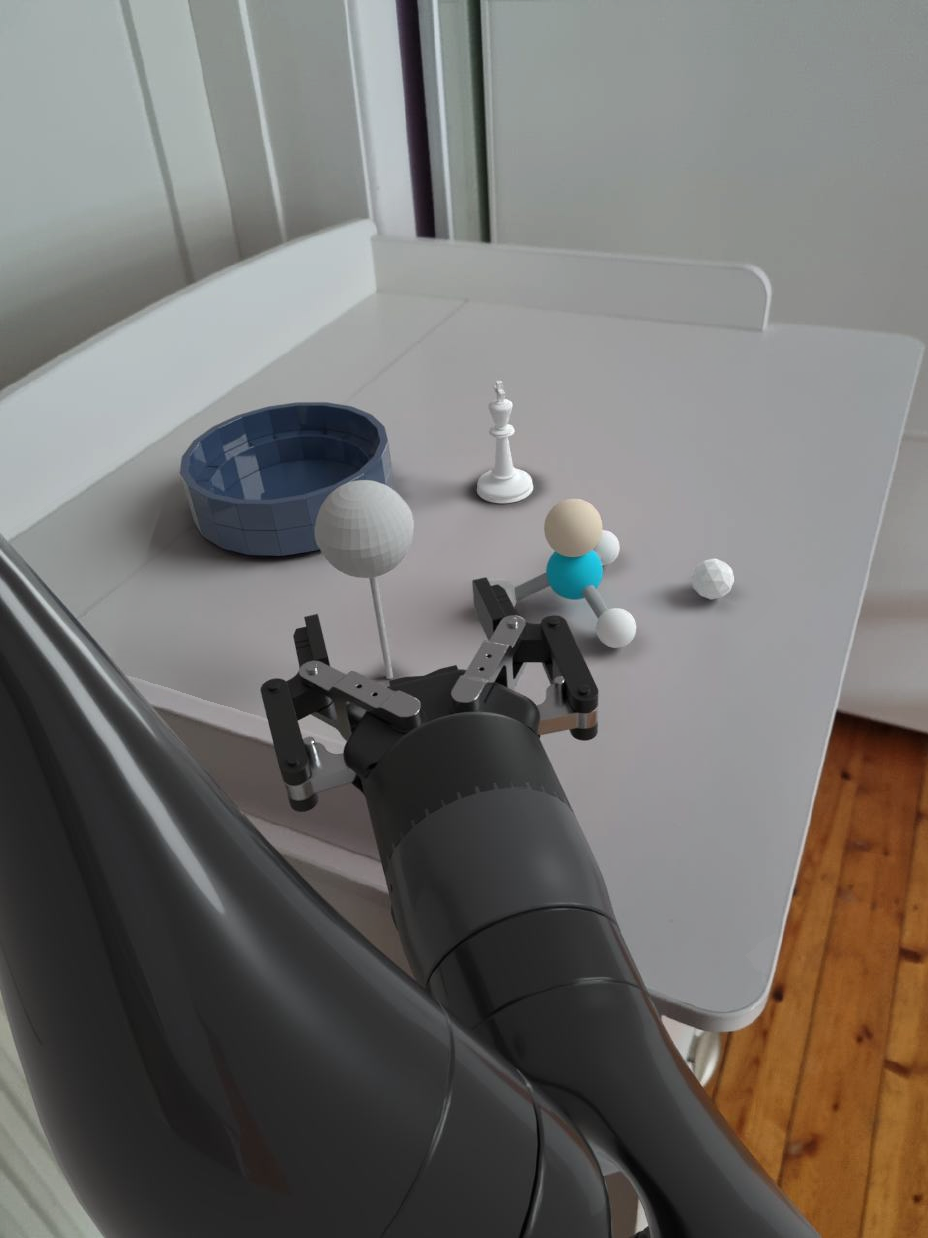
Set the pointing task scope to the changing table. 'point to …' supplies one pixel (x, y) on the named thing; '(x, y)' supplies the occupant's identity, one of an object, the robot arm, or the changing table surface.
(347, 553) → the lollipop
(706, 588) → the polyhedron
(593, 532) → the molecule model
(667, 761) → the changing table surface
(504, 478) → the chess piece
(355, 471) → the bowl
